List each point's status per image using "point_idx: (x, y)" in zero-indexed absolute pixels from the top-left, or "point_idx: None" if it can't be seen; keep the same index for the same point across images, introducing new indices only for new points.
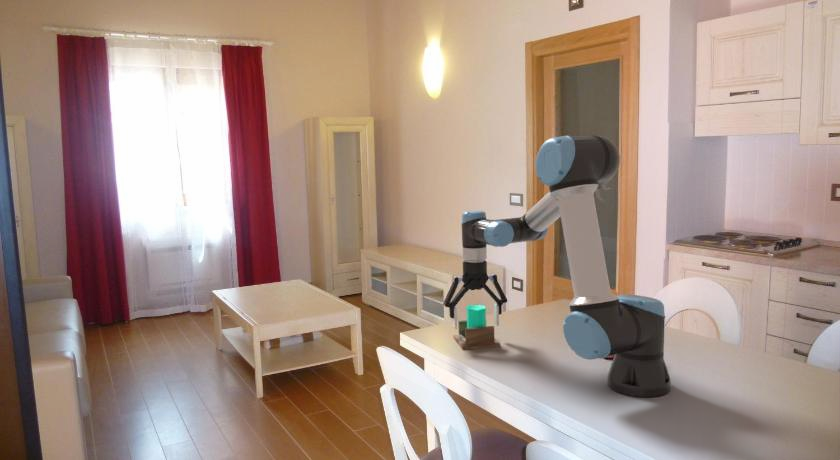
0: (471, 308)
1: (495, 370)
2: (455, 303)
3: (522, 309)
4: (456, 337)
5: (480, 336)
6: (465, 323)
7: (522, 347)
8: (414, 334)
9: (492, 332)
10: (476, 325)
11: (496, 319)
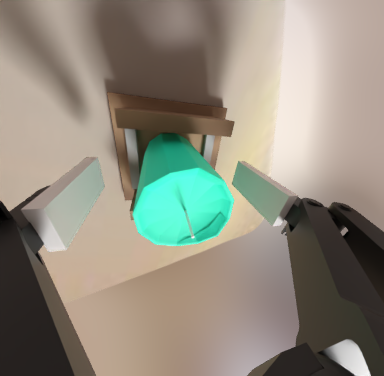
0: (206, 213)
1: None
2: (316, 214)
3: None
4: None
5: (175, 113)
6: None
7: (9, 35)
8: (252, 222)
9: (127, 108)
10: (186, 146)
11: (88, 168)
